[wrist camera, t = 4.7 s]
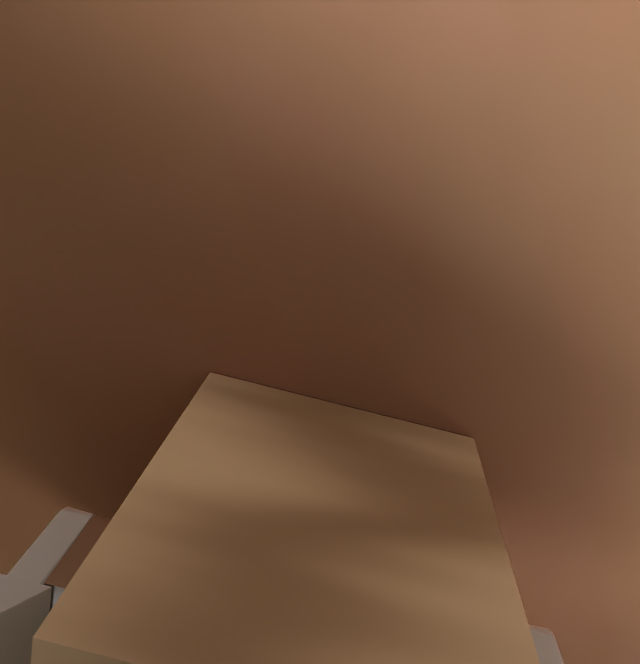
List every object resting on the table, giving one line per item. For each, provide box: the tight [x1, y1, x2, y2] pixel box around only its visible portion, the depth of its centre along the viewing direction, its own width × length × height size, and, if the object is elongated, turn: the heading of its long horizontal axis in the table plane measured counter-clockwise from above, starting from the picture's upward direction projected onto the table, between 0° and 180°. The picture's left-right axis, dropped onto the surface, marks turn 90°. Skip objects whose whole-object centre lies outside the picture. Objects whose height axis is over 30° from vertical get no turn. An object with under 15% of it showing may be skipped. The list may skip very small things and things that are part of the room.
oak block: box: [31, 372, 540, 664], centre depth 9 cm, size 5×5×6 cm
